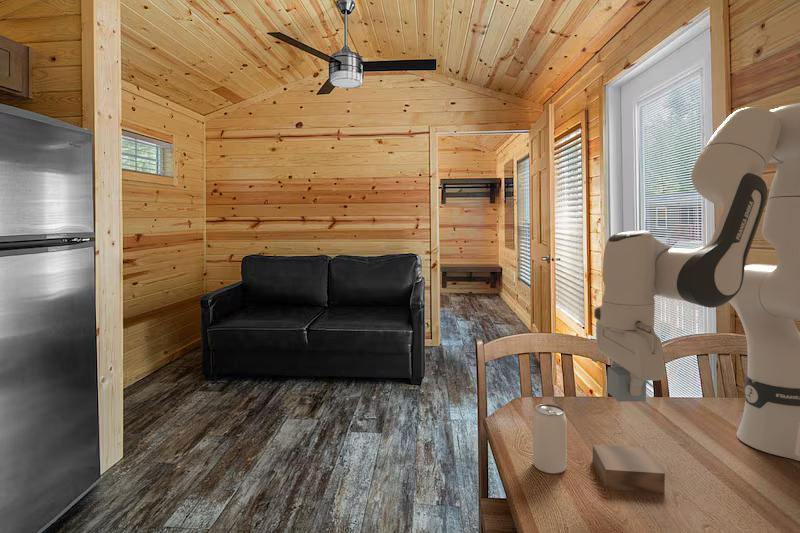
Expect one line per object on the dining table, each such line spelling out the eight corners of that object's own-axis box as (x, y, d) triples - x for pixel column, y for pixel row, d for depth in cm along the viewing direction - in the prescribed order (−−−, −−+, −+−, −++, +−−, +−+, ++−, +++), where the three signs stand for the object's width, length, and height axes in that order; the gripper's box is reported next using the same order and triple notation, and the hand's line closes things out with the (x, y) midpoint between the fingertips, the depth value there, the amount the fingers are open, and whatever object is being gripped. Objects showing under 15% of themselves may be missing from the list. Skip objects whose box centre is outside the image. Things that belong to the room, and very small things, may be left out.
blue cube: (633, 391, 88) (633, 367, 88) (645, 401, 83) (646, 375, 83) (607, 391, 89) (607, 367, 88) (618, 401, 84) (618, 375, 83)
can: (556, 456, 95) (556, 401, 94) (573, 472, 89) (573, 414, 88) (527, 460, 94) (527, 404, 93) (542, 476, 88) (542, 417, 87)
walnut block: (644, 466, 91) (644, 447, 91) (664, 494, 81) (664, 473, 81) (592, 463, 93) (592, 444, 93) (605, 490, 83) (605, 469, 83)
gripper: (675, 328, 74) (673, 409, 75) (621, 307, 95) (620, 371, 96) (636, 328, 75) (635, 409, 76) (590, 308, 95) (589, 372, 96)
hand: (626, 388), depth 86 cm, fingers closed on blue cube, 5 cm apart
